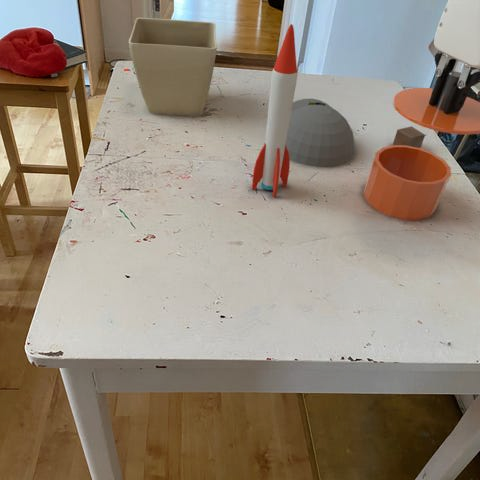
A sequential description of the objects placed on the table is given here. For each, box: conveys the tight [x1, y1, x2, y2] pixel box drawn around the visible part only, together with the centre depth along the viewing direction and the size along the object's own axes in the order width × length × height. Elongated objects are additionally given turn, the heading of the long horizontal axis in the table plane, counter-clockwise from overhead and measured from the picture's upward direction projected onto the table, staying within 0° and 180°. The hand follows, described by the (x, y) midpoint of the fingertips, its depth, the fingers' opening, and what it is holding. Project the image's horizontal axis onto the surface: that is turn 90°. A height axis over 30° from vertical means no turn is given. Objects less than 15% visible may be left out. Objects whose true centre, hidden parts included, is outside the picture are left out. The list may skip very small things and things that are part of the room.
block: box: [392, 126, 426, 149], centre depth 111 cm, size 5×5×5 cm
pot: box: [363, 144, 452, 221], centre depth 94 cm, size 15×15×8 cm
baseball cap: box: [286, 98, 355, 168], centre depth 109 cm, size 19×26×12 cm
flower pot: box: [128, 17, 218, 117], centre depth 114 cm, size 19×19×17 cm
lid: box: [392, 70, 480, 136], centre depth 72 cm, size 16×16×6 cm
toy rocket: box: [251, 23, 298, 199], centre depth 86 cm, size 6×6×30 cm
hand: (444, 106), depth 74 cm, fingers closed on lid, 2 cm apart
